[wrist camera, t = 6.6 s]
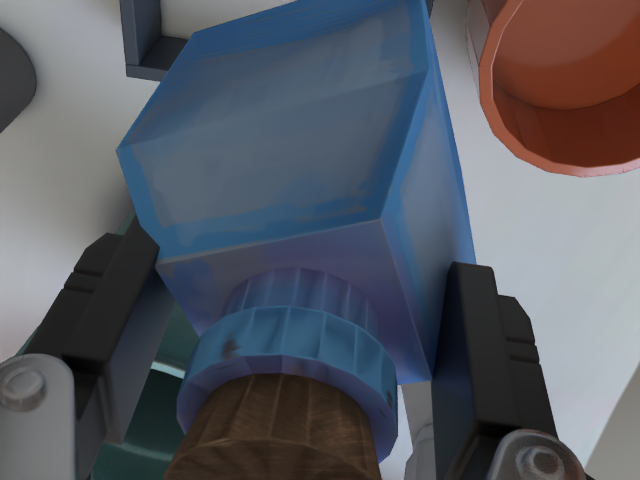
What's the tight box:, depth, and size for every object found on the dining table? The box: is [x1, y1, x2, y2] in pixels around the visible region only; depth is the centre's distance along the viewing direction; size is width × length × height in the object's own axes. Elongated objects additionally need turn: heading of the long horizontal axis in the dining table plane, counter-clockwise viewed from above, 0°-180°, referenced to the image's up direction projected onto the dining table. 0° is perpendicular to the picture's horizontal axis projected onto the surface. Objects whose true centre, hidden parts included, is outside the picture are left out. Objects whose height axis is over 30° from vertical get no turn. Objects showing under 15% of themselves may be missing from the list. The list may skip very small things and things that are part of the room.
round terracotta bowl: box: [466, 0, 640, 177], centre depth 28 cm, size 11×11×6 cm
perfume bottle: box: [116, 0, 477, 480], centre depth 13 cm, size 6×6×12 cm
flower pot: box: [9, 208, 200, 480], centre depth 37 cm, size 16×16×16 cm
